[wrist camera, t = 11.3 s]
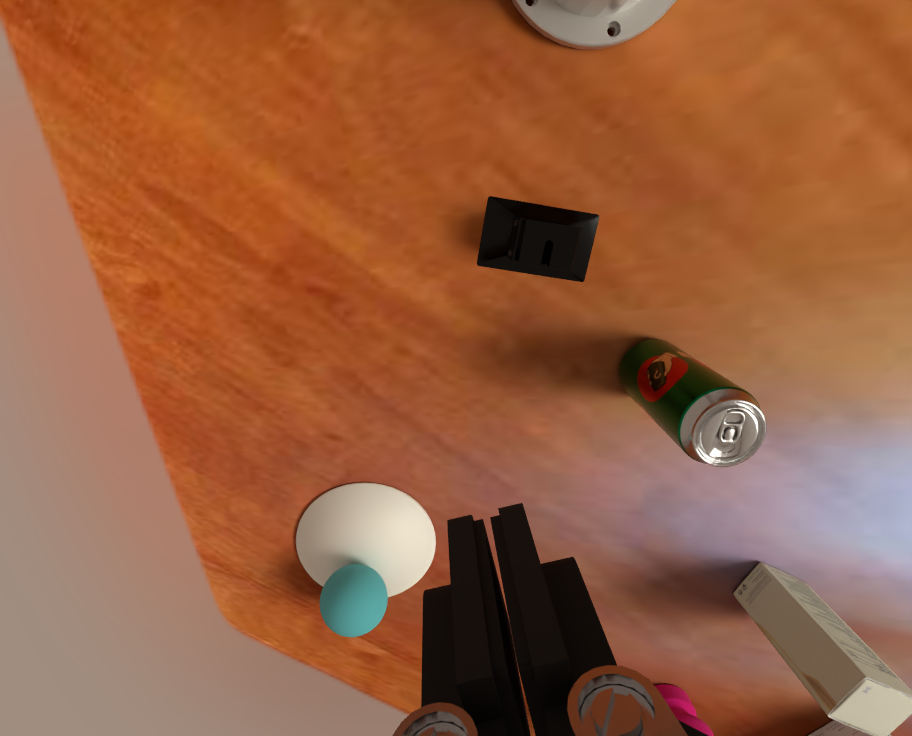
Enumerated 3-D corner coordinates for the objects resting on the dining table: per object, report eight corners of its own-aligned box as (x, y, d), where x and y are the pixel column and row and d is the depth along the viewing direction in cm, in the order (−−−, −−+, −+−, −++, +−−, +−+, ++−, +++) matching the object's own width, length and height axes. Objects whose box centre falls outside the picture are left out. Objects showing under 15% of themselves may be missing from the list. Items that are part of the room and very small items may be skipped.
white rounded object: (276, 500, 44) (276, 501, 43) (416, 468, 43) (416, 469, 43) (321, 610, 47) (321, 612, 47) (449, 581, 47) (449, 583, 47)
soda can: (611, 396, 42) (678, 472, 31) (621, 335, 40) (696, 391, 29) (672, 398, 42) (761, 474, 31) (684, 338, 41) (783, 395, 29)
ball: (326, 651, 44) (330, 585, 48) (393, 641, 44) (391, 576, 48) (309, 627, 40) (314, 557, 44) (382, 616, 40) (381, 547, 44)
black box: (445, 274, 39) (447, 284, 35) (461, 171, 37) (465, 168, 32) (604, 299, 40) (625, 312, 36) (629, 200, 38) (655, 202, 34)
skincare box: (729, 593, 49) (822, 716, 38) (759, 558, 48) (864, 675, 36) (781, 617, 50) (885, 744, 39) (810, 584, 49) (928, 705, 38)
